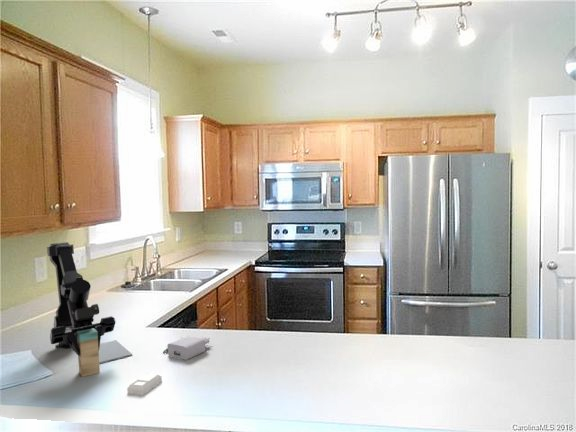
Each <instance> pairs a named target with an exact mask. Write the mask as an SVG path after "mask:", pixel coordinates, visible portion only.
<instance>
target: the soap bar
mask: <svg viewBox="0 0 576 432" xmlns="http://www.w3.org/2000/svg"><path fill="white" fill-rule="evenodd" d="M160 383H162V376H161V375H159V374H156V373H155V374H154V373H145V374H144V375H143V376H141V377H139V378H138V379H136V380H135V381H133V382H132V383H131V384H129V386H128V387H127V389H126V391H127V394H130V395H131V394H132V395H137V396H138V395H140V396H143V395H145V394H146V393H147V392H149V391H151V389H153V388H155V387H156V386H157V385H158V384H160Z"/></svg>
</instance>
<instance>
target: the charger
mask: <svg viewBox="0 0 576 432" xmlns="http://www.w3.org/2000/svg"><path fill="white" fill-rule="evenodd" d="M178 339H179V340H178ZM178 339H177V340H175V341H172V342H169V343H168V344H167V348H168V353H167V355H168V357H170V356H172V357H171V358H175V357H176V358H175V359H179V358H180V359H179V360H183V359H184V361H188V360H189V359H191V358H194V357H196V356H199V355H200V354H202V353H204V352H205V351H206V345H207V344H208V343H210V337H208V338H207V337H204V336H200V337H196V336H190V335H187V336H185V337H184V338H182V339H180V338H178Z"/></svg>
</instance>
